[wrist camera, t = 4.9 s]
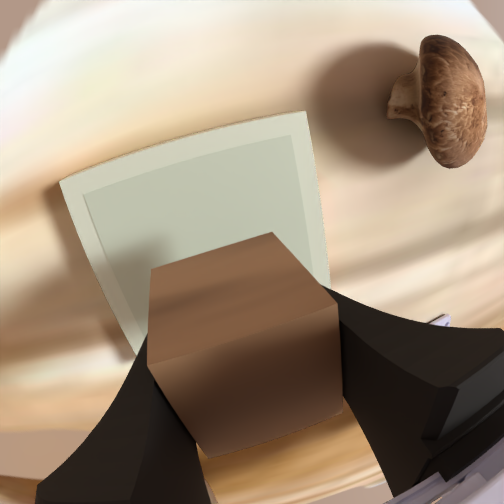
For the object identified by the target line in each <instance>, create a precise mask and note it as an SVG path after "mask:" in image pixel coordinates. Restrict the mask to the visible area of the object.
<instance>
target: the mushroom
mask: <svg viewBox="0 0 504 504" xmlns="http://www.w3.org/2000/svg"><path fill="white" fill-rule="evenodd" d="M387 118H388V119H395V118H405V119H408V120H411V121H413V122H414V123H415V124H416V125H417V126H418V127H419V128H420V130H421V131H422V132H423V134H424V138H425V141H426V145H427V147H428V149H429V151H430V153H431V154H432V156H433V157H434V159H435V160H436V161H437V162H438V163H439V164H440V165H441V166H443V167H446V168H449V169H450V168H458V167H460V166H462V165H464V164H466V163H467V162H468V161H469V160H471V159H472V158H473V156H474V155H475V154H476V152H477V151H478V149H479V148H480V146H481V144H482V142H483V140H484V137H485V133H486V129H487V114H486V99H485V88H484V81H483V78H482V76H481V73H480V70H479V68H478V65H477V64H476V63H475V61H474V60H473V58H472V57H471V56H470V54H469V53H468V52H467V51H466V50H465V49H464V48H463V47H462V46H461V45H460V44H459V43H457V42H456V41H454V40H452V39H450V38H448V37H446V36H441V35H430V36H427V37H425V38H424V39H423V40H422V41H421V45H420V52H419V59H418V63H417V65H416V67H415V69H414V70H413V72H411V73H410V74H403V75H401V76H400V77H399V78H398V79H397V80H396V82H395V83H394V85H393V88H392V91H391V93H390V97H389V100H388V104H387Z"/></svg>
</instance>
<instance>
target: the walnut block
mask: <svg viewBox="0 0 504 504" xmlns="http://www.w3.org/2000/svg"><path fill="white" fill-rule="evenodd" d="M147 366H148V368H149V370H150V372H151V373H152V375H153V377H154V378H155V380H156V382H157V383H158V385H159V387H160V388H161V390H162V391H163V393H164V395H165V396H166V398H167V399H168V401H169V402H170V404H171V406H172V407H173V409H174V410H175V412H176V413H177V415H178V416H179V418H180V419H181V421H182V422H183V424H184V425H185V427H186V428H187V430H188V431H189V432H190V434H191V435H192V437H193V438H194V440H195V441H196V442H197V444H198V445H199V447H200V448H201V449H202V451H203V452H204V453H205V455H206V456H207V457H208V459H209V458H213V457H217V456H221V455H225V454H229V453H232V452H236V451H239V450H243V449H246V448H249V447H253V446H256V445H259V444H262V443H265V442H268V441H271V440H274V439H277V438H280V437H283V436H286V435H288V434H291V433H294V432H297V431H299V430H302V429H305V428H307V427H310V426H312V425H315V424H317V423H320V422H322V421H325V420H327V419H329V418H332V417H334V416H336V415H339V414H341V413H343V392H342V366H341V346H340V330H339V316H338V304H337V302H336V301H335V300H334V299H333V298H332V297H331V296H330V294H329V293H328V292H327V291H326V290H325V289H324V288H323V287H322V286H321V284H320V283H319V282H318V281H317V280H316V279H315V278H314V277H313V276H312V275H311V273H310V272H309V271H308V270H307V269H306V268H305V267H304V266H303V265H302V264H301V262H300V261H299V260H298V259H297V258H296V257H295V256H294V255H293V254H292V253H291V252H290V250H289V249H288V248H287V247H286V246H285V245H284V244H283V243H282V242H281V241H280V240H279V239H278V237H277V236H276V235H275V234H274V233H273V232H269V233H266V234H263V235H259V236H256V237H253V238H249V239H246V240H243V241H240V242H236V243H233V244H230V245H227V246H223V247H220V248H217V249H214V250H210V251H207V252H204V253H201V254H198V255H194V256H191V257H188V258H185V259H181V260H178V261H175V262H172V263H169V264H166V265H162V266H159V267H156V268H153V269H151V276H150V291H149V310H148V337H147Z"/></svg>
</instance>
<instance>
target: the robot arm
mask: <svg viewBox="0 0 504 504" xmlns="http://www.w3.org/2000/svg"><path fill="white" fill-rule="evenodd" d="M321 286H322V287H323V288H324V289H325V290H326V291H327V292H328V293H329V294H330V296H331V297H332V298H333V299H334V300H335V301H336V302H337V304H338V316H339V330H340V346H341V366H342V392H343V396H344V398H345V400H346V401H347V403H348V404H349V406H350V408H351V410H352V412H353V413H354V415H355V417H356V419H357V421H358V423H359V425H360V426H361V428H362V430H363V432H364V434H365V436H366V438H367V440H368V442H369V444H370V446H371V448H372V450H373V452H374V454H375V457H376V459H377V461H378V463H379V465H380V467H381V469H382V472H383V474H384V476H385V478H386V481H387V483H388V485H389V488H390V490H391V492H392V495H393V497H394V498H393V499H392V500H389V501H387V502H386V503H384V504H430V503H432V502H433V501H435V500H437V499H438V498H440V497H442V499H440V500H439V501H438V502H436V503H435V504H504V331H503V330H502V329H501V328H458V327H449V326H450V321H451V316H450V315H449V314H446V315H444V316H442V317H440V318H438V319H437V320H435V321H433V322H431V323H429V324H428V323H422V322H417V321H413V320H409V319H405V318H402V317H398V316H394V315H391V314H388V313H385V312H382V311H379V310H377V309H374V308H371V307H369V306H366V305H364V304H361V303H359V302H357V301H354V300H352V299H350V298H348V297H346V296H343V295H341V294H339V293H337V292H335V291H333V290H331V289H329V288H327V287H325V286H323V285H321ZM147 337H148V333H147V335H146V337H145V339H144V341H143V343H142V345H141V348H140V350H139V352H138V354H137V356H136V359H135V361H134V363H133V365H132V367H131V369H130V371H129V373H128V375H127V377H126V379H125V381H124V383H123V385H122V387H121V388H120V390H119V392H118V394H117V396H116V397H115V399H114V401H113V402H112V404H111V406H110V407H109V409H108V410H107V411H106V413H105V414H104V416H103V417H102V419H101V420H100V422H99V423H98V424H97V425H96V427H95V428H94V429H93V430H92V432H91V433H90V434H89V435H88V437H87V438H86V439H85V441H84V442H83V443H82V444H81V445H80V446H79V447H78V448H77V450H76V451H75V452H74V453H73V454H72V455H71V456H70V457H69V458H68V459H67V460H66V461H65V462H64V463H63V464H62V465H61V466H59V467H58V468H57V469H56V470H55V471H54V472H53V473H51V474H50V475H49V476H48V477H47V478H45V479H44V480H43V481H42V482H41V483H39V484H38V485H37V491H36V499H35V504H211V500H210V497H209V494H208V490H207V487H206V484H205V480H204V477H203V473H202V469H201V465H200V461H199V457H198V451H197V446H196V441H195V440H194V438H193V437H192V435H191V434H190V432H189V431H188V430H187V428H186V427H185V425H184V424H183V422H182V421H181V419H180V418H179V416H178V415H177V413H176V412H175V410H174V409H173V407H172V406H171V404H170V402H169V401H168V399H167V398H166V396H165V395H164V393H163V391H162V390H161V388H160V387H159V385H158V383H157V382H156V380H155V378H154V377H153V375H152V373H151V372H150V370H149V368H148V366H147Z"/></svg>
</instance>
